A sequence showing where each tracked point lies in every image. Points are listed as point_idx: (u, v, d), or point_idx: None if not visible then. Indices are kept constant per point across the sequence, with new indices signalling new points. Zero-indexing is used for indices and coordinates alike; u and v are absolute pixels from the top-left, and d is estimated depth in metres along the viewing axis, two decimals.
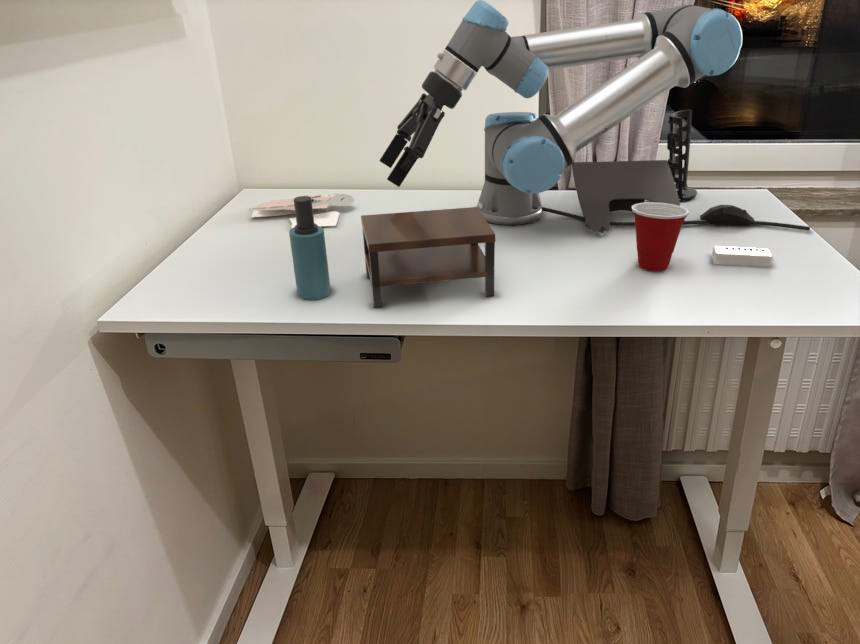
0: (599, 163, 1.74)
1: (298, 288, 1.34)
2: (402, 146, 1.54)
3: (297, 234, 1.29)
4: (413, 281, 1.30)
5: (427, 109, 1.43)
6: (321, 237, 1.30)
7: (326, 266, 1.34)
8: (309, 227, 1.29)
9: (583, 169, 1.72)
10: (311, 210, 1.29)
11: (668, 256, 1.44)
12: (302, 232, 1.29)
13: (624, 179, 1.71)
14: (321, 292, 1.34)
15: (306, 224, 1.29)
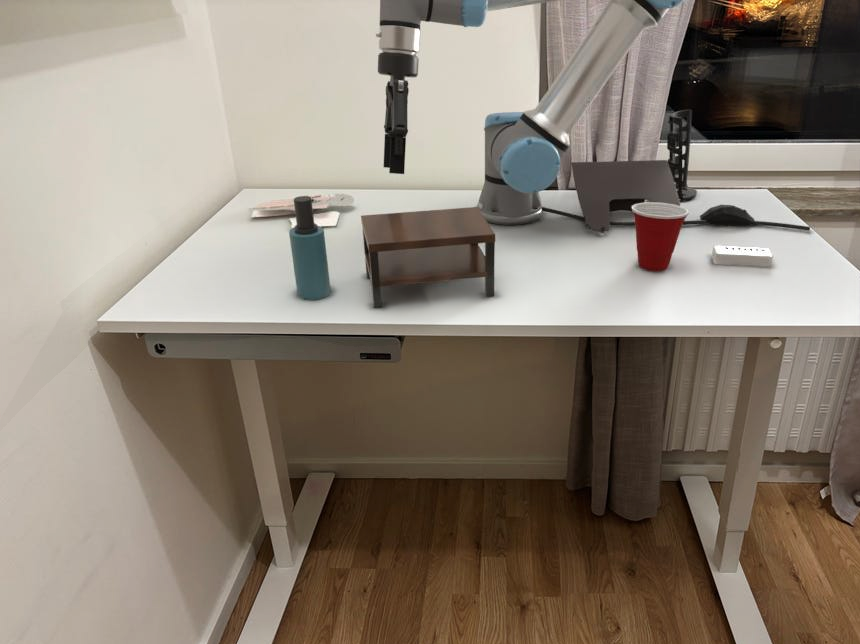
0: (599, 163, 1.74)
1: (298, 288, 1.34)
2: None
3: (297, 234, 1.29)
4: (413, 281, 1.30)
5: (392, 88, 1.38)
6: (321, 237, 1.30)
7: (326, 266, 1.34)
8: (309, 227, 1.29)
9: (583, 169, 1.72)
10: (311, 210, 1.29)
11: (668, 256, 1.44)
12: (302, 232, 1.29)
13: (624, 179, 1.71)
14: (321, 292, 1.34)
15: (306, 224, 1.29)
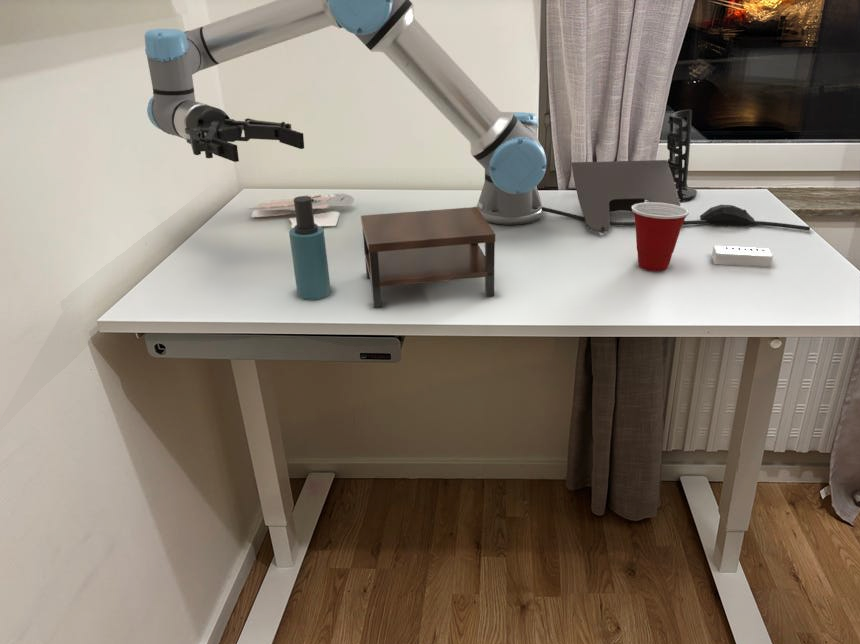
0: (599, 163, 1.74)
1: (298, 288, 1.34)
2: (282, 130, 1.37)
3: (297, 234, 1.29)
4: (413, 281, 1.30)
5: None
6: (321, 237, 1.30)
7: (326, 266, 1.34)
8: (309, 227, 1.29)
9: (583, 169, 1.72)
10: (311, 210, 1.29)
11: (668, 256, 1.44)
12: (302, 232, 1.29)
13: (624, 179, 1.71)
14: (321, 292, 1.34)
15: (306, 224, 1.29)
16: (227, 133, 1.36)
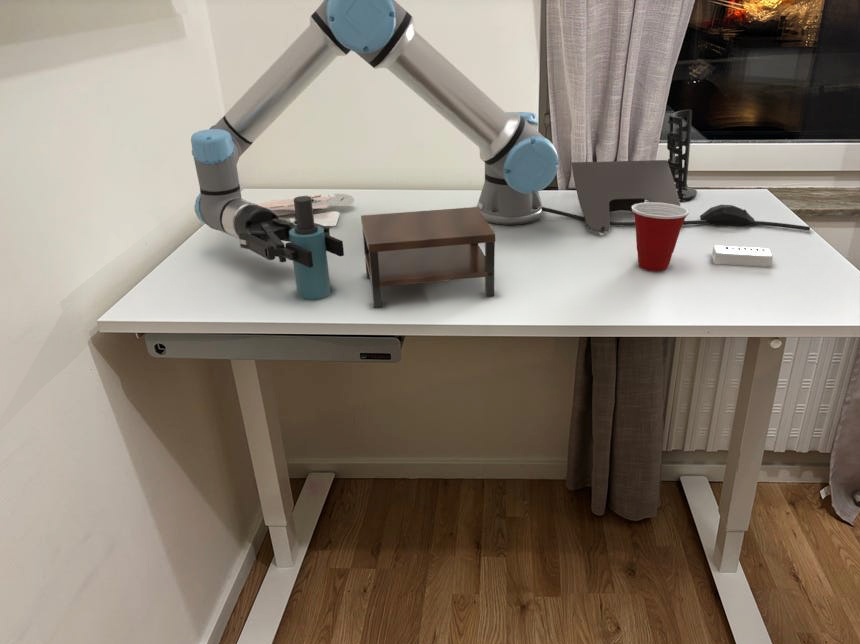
0: (599, 163, 1.74)
1: (298, 288, 1.34)
2: None
3: (297, 234, 1.29)
4: (413, 281, 1.30)
5: None
6: (321, 237, 1.30)
7: (326, 266, 1.34)
8: (309, 227, 1.29)
9: (583, 169, 1.72)
10: (311, 210, 1.29)
11: (668, 256, 1.44)
12: (302, 232, 1.29)
13: (624, 179, 1.71)
14: (321, 292, 1.34)
15: (306, 224, 1.29)
16: (276, 235, 1.37)
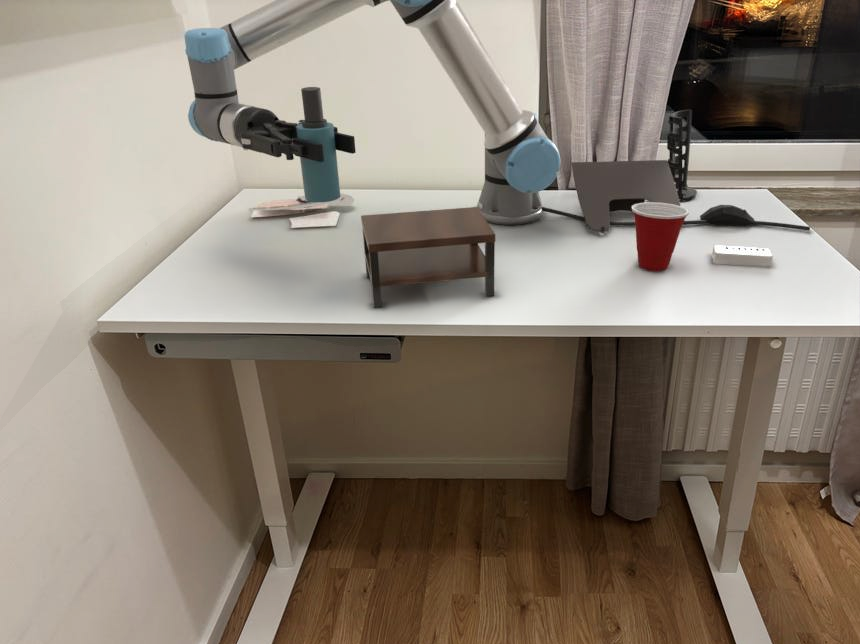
0: (599, 163, 1.74)
1: (306, 190, 1.25)
2: None
3: (305, 128, 1.20)
4: (413, 281, 1.30)
5: None
6: (331, 131, 1.22)
7: (336, 166, 1.25)
8: (318, 120, 1.21)
9: (583, 169, 1.72)
10: (320, 101, 1.20)
11: (668, 256, 1.44)
12: (311, 125, 1.20)
13: (624, 179, 1.71)
14: (331, 194, 1.26)
15: (315, 116, 1.20)
16: None
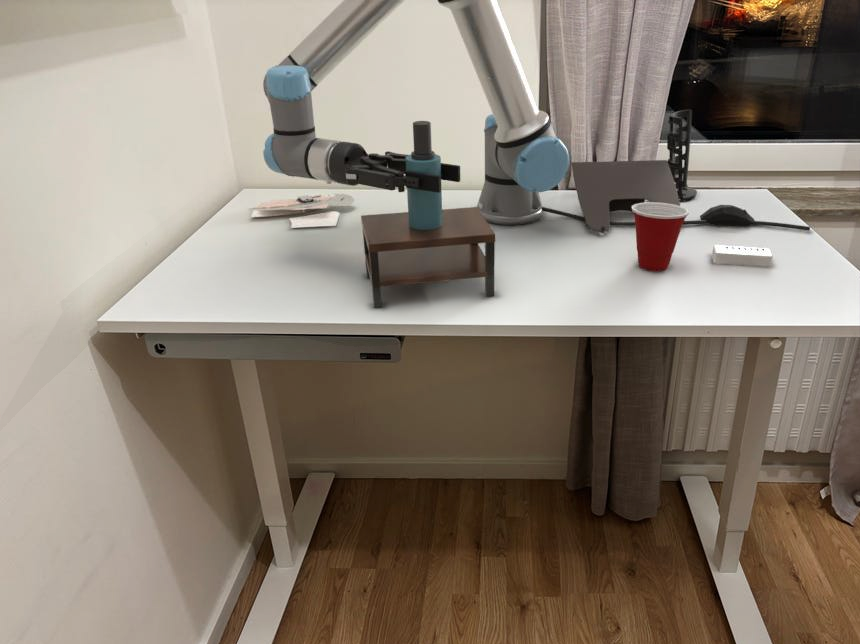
0: (599, 163, 1.74)
1: (414, 219, 1.31)
2: None
3: (418, 160, 1.26)
4: (413, 281, 1.30)
5: None
6: (440, 162, 1.28)
7: (441, 194, 1.31)
8: (429, 152, 1.26)
9: (583, 169, 1.72)
10: None
11: (668, 256, 1.44)
12: (423, 158, 1.26)
13: (624, 179, 1.71)
14: (438, 221, 1.31)
15: (427, 149, 1.26)
16: None
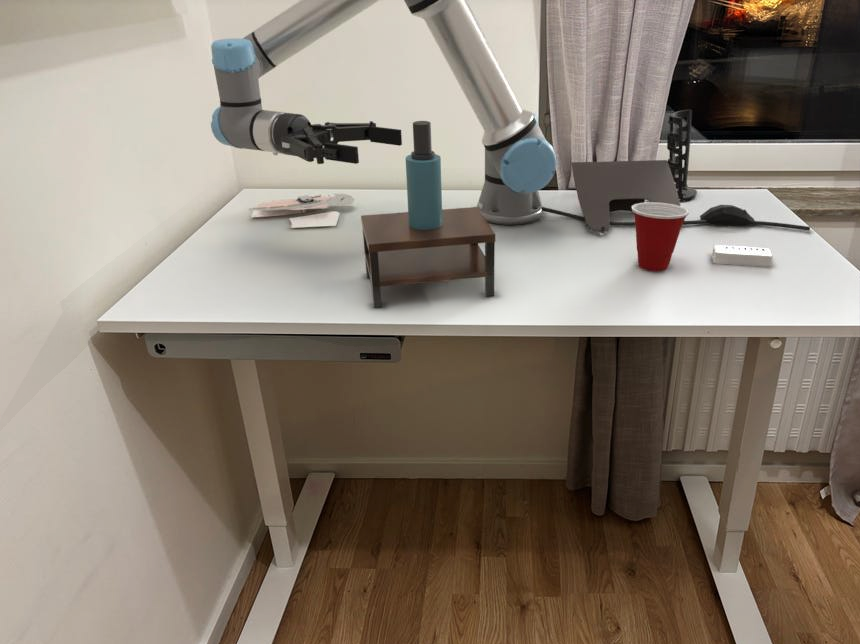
0: (599, 163, 1.74)
1: (414, 219, 1.31)
2: (375, 129, 1.37)
3: (418, 160, 1.26)
4: (413, 281, 1.30)
5: None
6: (440, 162, 1.28)
7: (441, 194, 1.31)
8: (429, 152, 1.26)
9: (583, 169, 1.72)
10: None
11: (668, 256, 1.44)
12: (423, 158, 1.26)
13: (624, 179, 1.71)
14: (438, 221, 1.31)
15: (427, 149, 1.26)
16: (321, 138, 1.35)
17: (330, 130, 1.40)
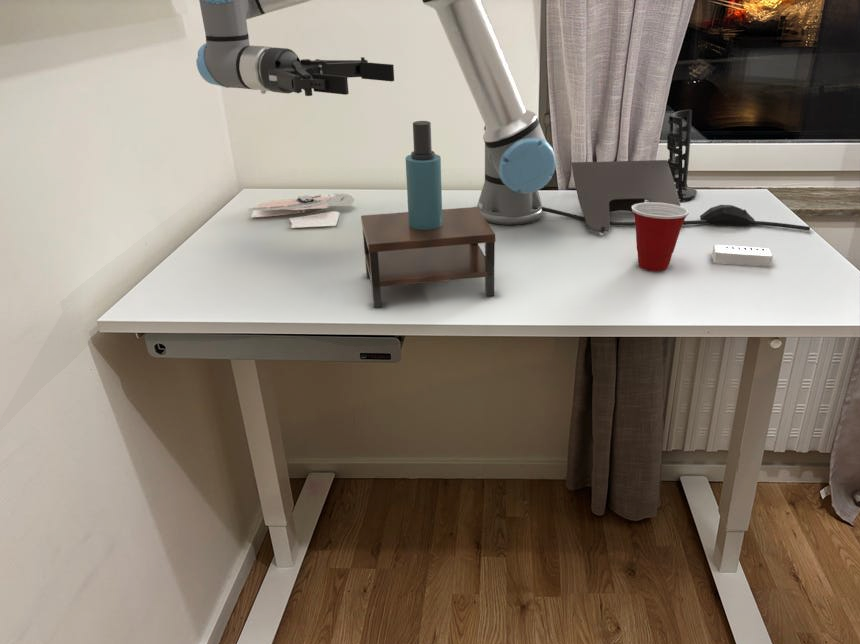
0: (599, 163, 1.74)
1: (414, 219, 1.31)
2: (366, 65, 1.32)
3: (418, 160, 1.26)
4: (413, 281, 1.30)
5: None
6: (440, 162, 1.28)
7: (441, 194, 1.31)
8: (429, 152, 1.26)
9: (583, 169, 1.72)
10: None
11: (668, 256, 1.44)
12: (423, 158, 1.26)
13: (624, 179, 1.71)
14: (438, 221, 1.31)
15: (427, 149, 1.26)
16: (310, 73, 1.30)
17: (320, 67, 1.35)
